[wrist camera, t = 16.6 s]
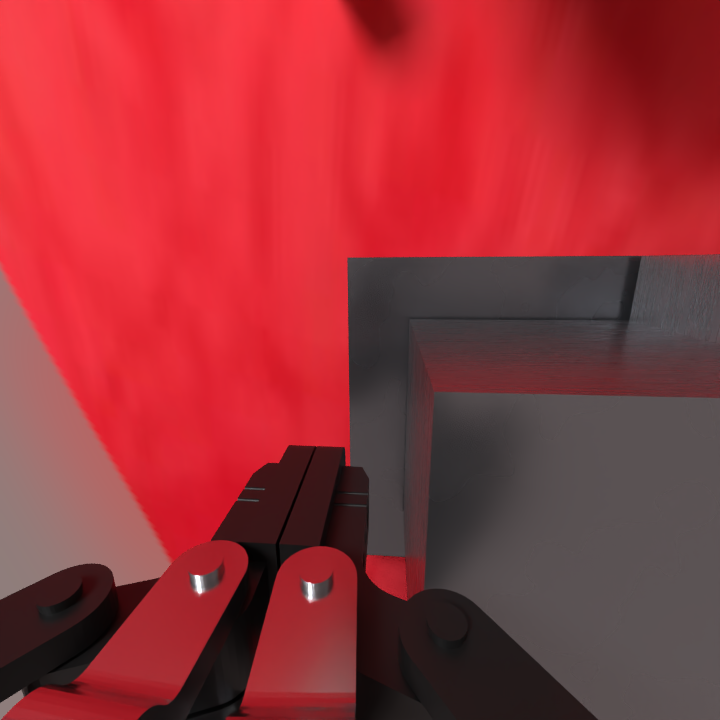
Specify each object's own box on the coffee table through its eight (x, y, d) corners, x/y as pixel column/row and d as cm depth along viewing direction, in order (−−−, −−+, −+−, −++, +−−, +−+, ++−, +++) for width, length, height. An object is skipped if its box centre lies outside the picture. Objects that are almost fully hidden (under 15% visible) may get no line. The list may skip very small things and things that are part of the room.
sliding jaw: (411, 257, 12) (441, 253, 5) (747, 255, 11) (1326, 246, 4) (402, 562, 15) (412, 813, 8) (661, 577, 14) (911, 868, 7)
